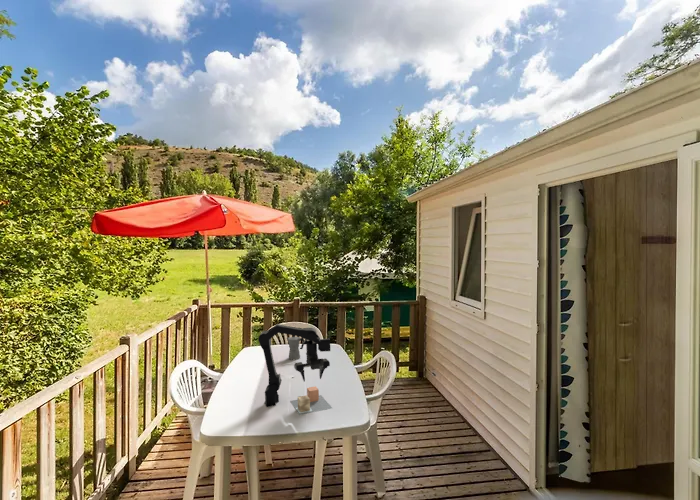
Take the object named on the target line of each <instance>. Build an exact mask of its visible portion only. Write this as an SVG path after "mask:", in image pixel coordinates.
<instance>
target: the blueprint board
mask: <svg viewBox="0 0 700 500" xmlns="http://www.w3.org/2000/svg"><path fill="white" fill-rule="evenodd" d="M290 403H291V405H292V406H293V408H294V410H295V411H296V412H297V414H298V415H299V416H300V415H305V414H310V413H315V412H316V413H317V412H321V411H325V410H330V409H333V407H332V405H330V403H329V402H328V401H327V399H325V398H324V396H323V395H321V394H319V400H318V401H313V402H310V410H309V411H305V412H300V411H299V409H298V399H294V400H290Z"/></svg>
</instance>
